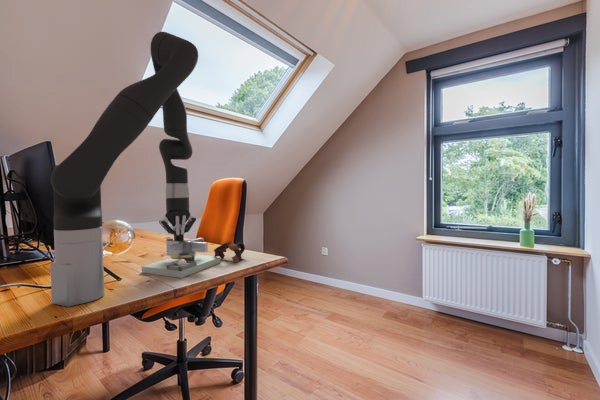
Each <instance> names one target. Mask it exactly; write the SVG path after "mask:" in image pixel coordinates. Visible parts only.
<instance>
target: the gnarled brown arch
mask: <svg viewBox="0 0 600 400" xmlns="http://www.w3.org/2000/svg"><path fill="white" fill-rule="evenodd" d="M227 249H229V250H230V251H233V252H234V254H235V255H233V256H232V257H231V260H232V261H233V262H232V263H233V264H235V263H238V262H239V261H242V260H243V257H242V254H244V251H245V250H246V246H245V243H243V242H241V241H239V242H236V243H234V242H232V240H229V241H227V242H225V243H223V244H221V245H219V246H217V247H216V248H215V249H214V250H213V251H214V256H215V257H220V259H224V258H225V256H226V255H225V253H226V252H227Z"/></svg>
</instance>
